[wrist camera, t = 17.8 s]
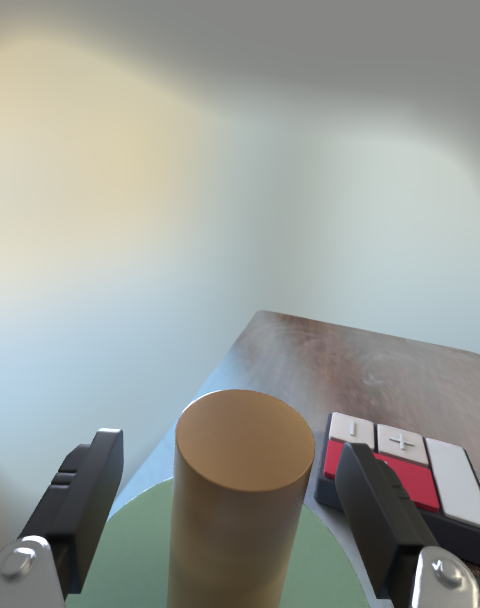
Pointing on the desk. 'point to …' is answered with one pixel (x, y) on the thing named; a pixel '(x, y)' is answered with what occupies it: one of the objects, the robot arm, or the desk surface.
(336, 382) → the desk surface
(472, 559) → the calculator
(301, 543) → the pot
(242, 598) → the tall wooden cylinder
